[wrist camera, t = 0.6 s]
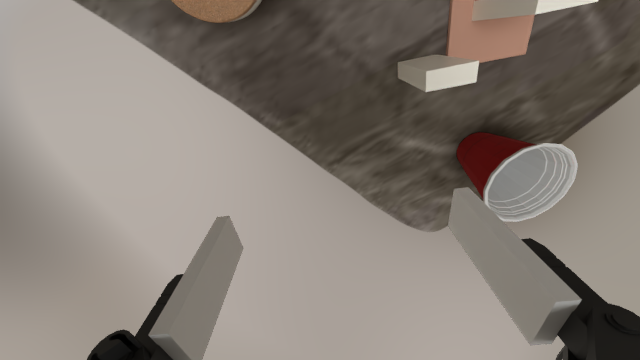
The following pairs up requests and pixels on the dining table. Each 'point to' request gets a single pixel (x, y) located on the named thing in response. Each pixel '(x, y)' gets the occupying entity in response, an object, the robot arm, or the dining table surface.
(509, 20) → the strip
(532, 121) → the dining table surface
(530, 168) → the plastic cup
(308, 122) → the dining table surface
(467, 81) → the domino
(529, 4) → the domino
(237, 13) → the lidded jar
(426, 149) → the dining table surface
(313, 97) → the dining table surface
